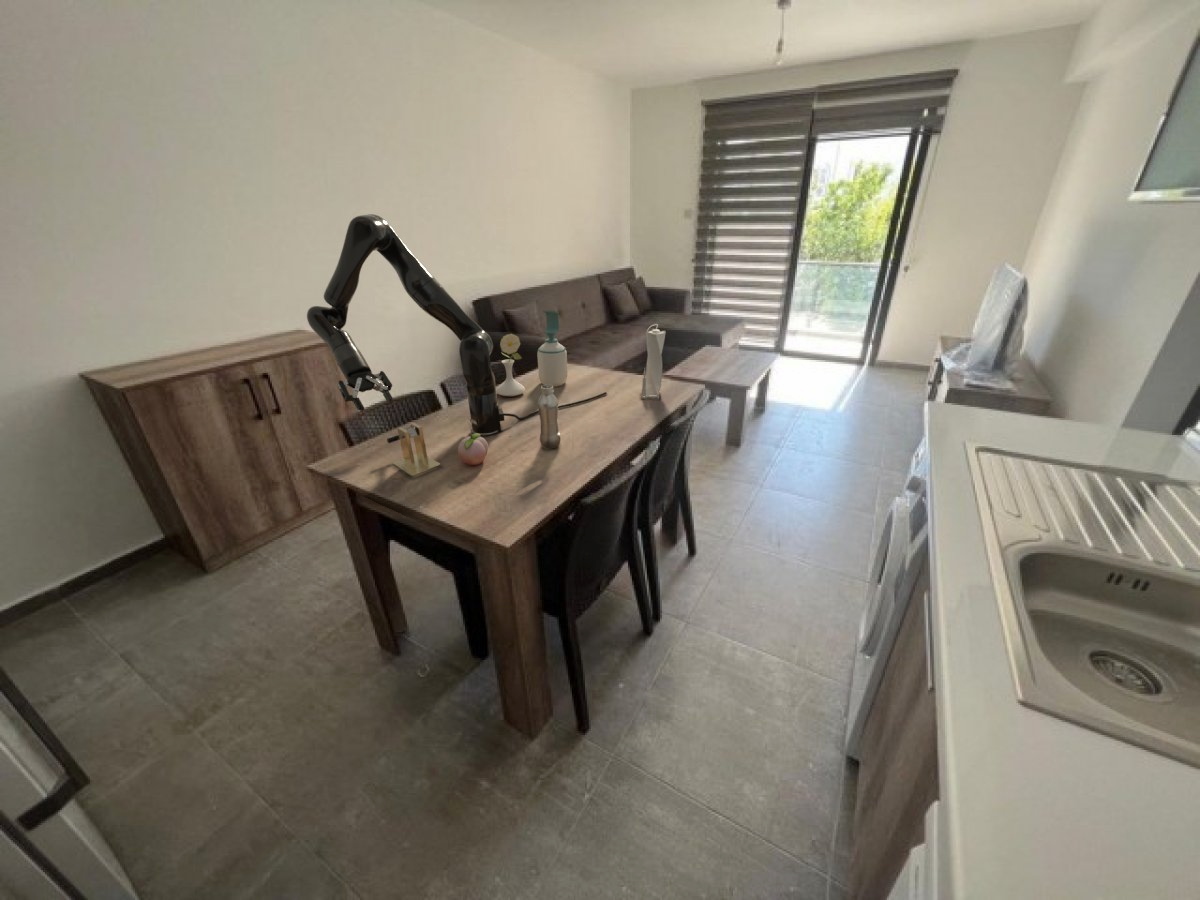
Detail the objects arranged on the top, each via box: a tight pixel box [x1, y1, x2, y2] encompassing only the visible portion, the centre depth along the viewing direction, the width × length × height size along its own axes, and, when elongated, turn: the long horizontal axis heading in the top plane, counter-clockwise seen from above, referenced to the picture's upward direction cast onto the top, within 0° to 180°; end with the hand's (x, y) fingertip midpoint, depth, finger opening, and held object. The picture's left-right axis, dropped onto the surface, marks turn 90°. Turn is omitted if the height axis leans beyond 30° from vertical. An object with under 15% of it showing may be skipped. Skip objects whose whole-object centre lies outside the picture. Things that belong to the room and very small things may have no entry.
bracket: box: [392, 422, 442, 477], centre depth 137 cm, size 11×9×13 cm
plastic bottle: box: [536, 384, 561, 450], centre depth 147 cm, size 6×7×20 cm
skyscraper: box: [640, 323, 667, 401], centre depth 186 cm, size 8×8×28 cm
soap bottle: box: [536, 310, 568, 388], centre depth 200 cm, size 12×12×31 cm
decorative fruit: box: [457, 433, 489, 466], centre depth 138 cm, size 9×8×10 cm
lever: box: [386, 427, 417, 444], centre depth 138 cm, size 12×6×2 cm, turn 48°
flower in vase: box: [496, 333, 526, 397], centre depth 189 cm, size 13×11×25 cm
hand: (376, 406), depth 145 cm, fingers open, 8 cm apart
